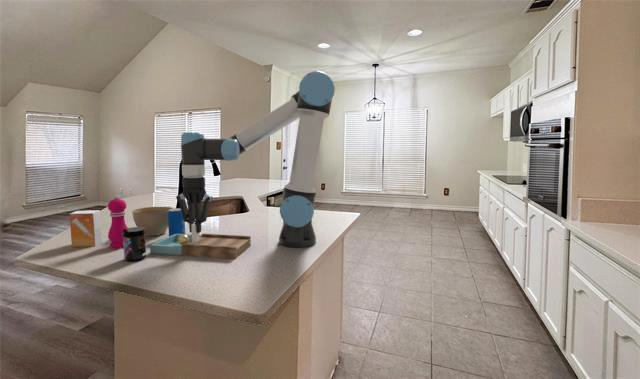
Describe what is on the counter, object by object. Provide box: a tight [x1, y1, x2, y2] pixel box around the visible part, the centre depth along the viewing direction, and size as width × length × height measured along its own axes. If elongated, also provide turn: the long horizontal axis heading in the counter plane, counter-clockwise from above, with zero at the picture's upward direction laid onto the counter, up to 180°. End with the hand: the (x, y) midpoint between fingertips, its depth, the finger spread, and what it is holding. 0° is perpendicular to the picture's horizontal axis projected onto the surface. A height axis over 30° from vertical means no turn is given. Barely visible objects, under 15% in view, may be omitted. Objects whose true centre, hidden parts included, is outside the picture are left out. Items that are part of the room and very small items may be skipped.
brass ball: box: [177, 235, 189, 246], centre depth 119 cm, size 4×4×4 cm
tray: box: [149, 233, 202, 257], centre depth 125 cm, size 12×16×3 cm
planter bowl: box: [131, 206, 174, 237], centre depth 144 cm, size 16×16×11 cm
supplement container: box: [122, 226, 147, 263], centre depth 112 cm, size 7×7×10 cm
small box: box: [69, 209, 103, 248], centre depth 127 cm, size 8×6×13 cm
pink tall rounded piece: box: [107, 194, 129, 250], centre depth 125 cm, size 7×7×20 cm
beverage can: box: [168, 207, 186, 237], centre depth 139 cm, size 6×6×12 cm
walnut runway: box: [182, 233, 252, 260], centre depth 122 cm, size 20×15×4 cm
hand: (195, 241), depth 119 cm, fingers closed
